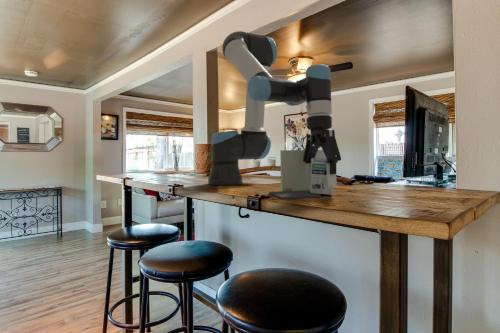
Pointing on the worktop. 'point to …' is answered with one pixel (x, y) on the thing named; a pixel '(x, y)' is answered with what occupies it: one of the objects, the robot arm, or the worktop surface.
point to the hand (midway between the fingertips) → (320, 184)
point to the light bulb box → (319, 177)
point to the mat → (294, 194)
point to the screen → (295, 170)
